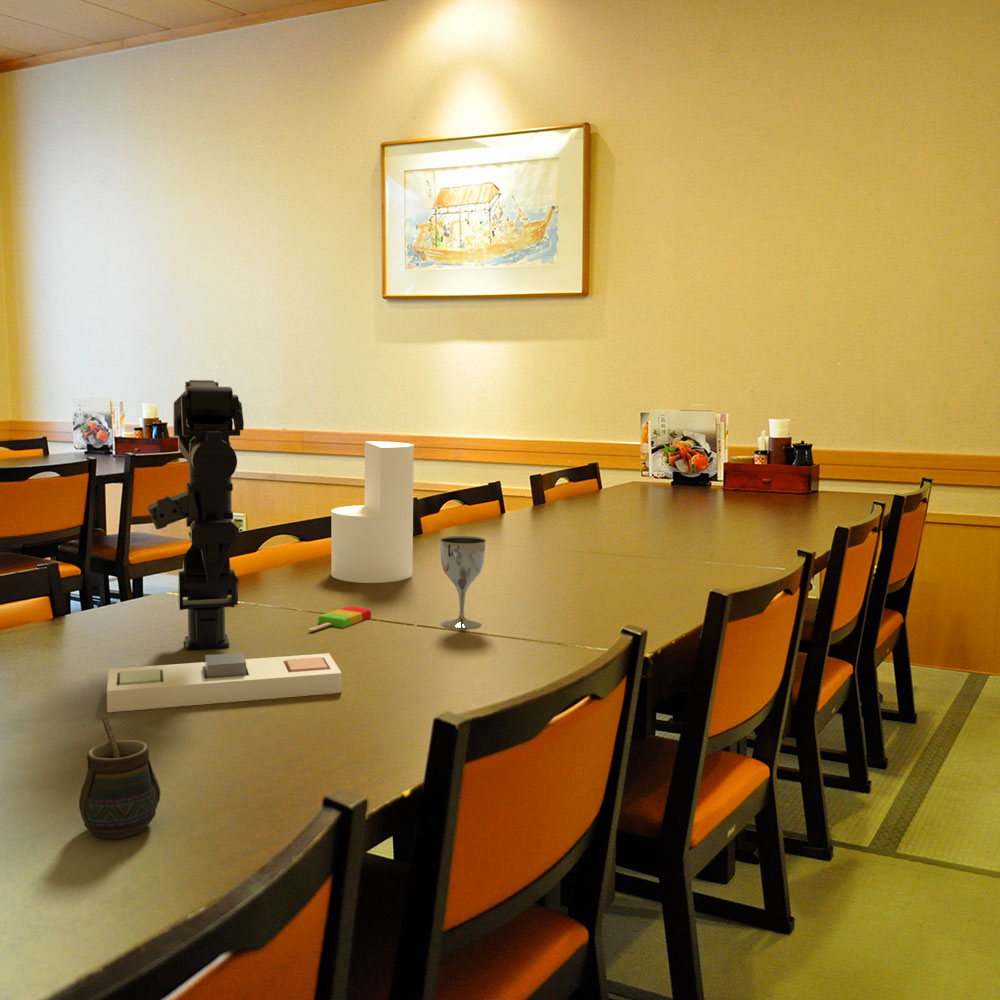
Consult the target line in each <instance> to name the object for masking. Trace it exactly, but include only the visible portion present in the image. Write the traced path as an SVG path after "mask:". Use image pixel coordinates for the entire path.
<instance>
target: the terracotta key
mask: <svg viewBox="0 0 1000 1000" xmlns="http://www.w3.org/2000/svg"><path fill="white" fill-rule="evenodd" d="M286 668H287V670H288V672H301V671H314V670H327V669H328V667H327V665H326V663H325V662H324V660H323V658H322V657H316V658H302V659H288V660H286Z"/></svg>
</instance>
